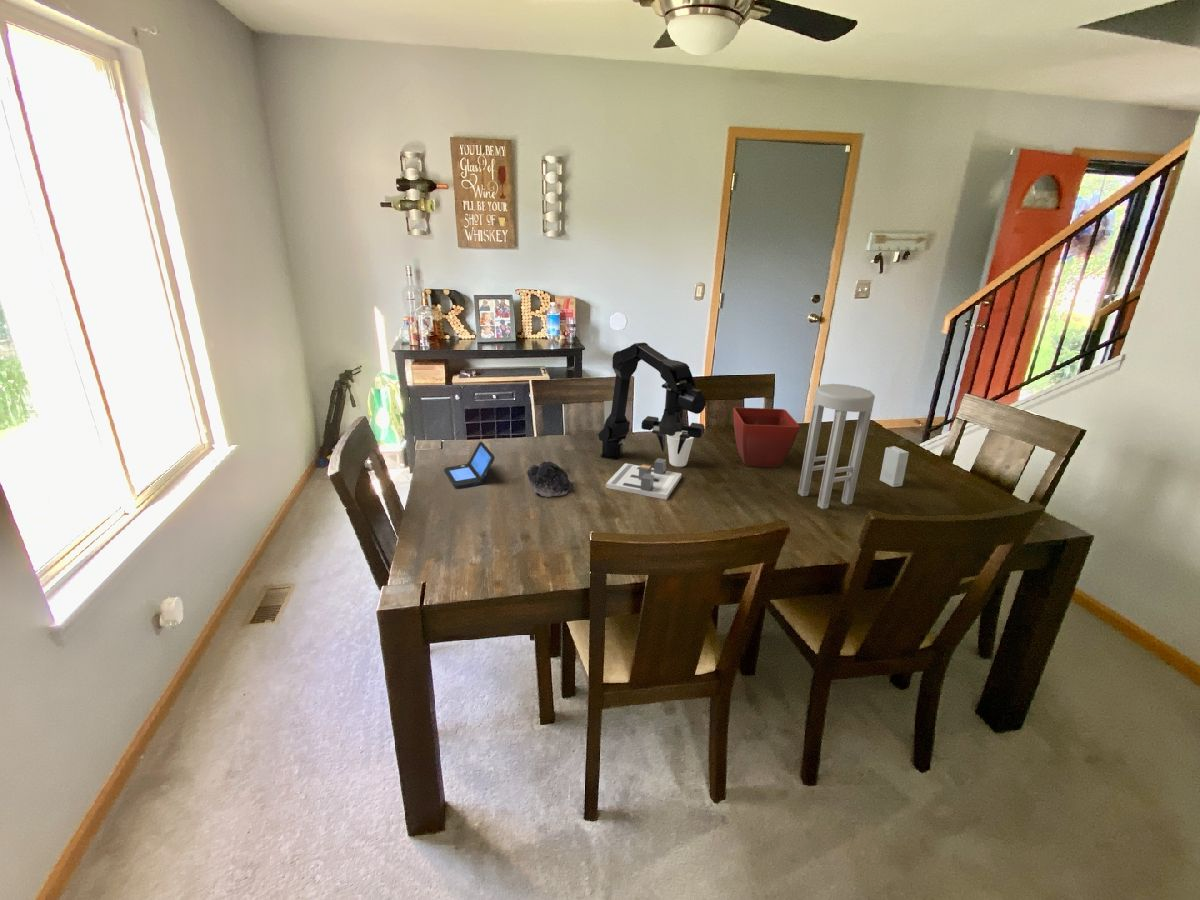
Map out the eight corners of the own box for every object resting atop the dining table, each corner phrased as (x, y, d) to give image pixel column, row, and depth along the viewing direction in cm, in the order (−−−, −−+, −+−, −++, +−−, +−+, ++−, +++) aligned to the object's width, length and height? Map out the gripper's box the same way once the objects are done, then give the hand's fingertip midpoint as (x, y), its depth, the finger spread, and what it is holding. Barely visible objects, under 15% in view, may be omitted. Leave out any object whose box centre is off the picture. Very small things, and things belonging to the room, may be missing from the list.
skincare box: (902, 486, 188) (911, 452, 184) (892, 487, 187) (900, 453, 182) (888, 478, 193) (895, 445, 189) (877, 480, 192) (885, 446, 188)
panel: (605, 487, 181) (606, 483, 180) (624, 467, 196) (625, 463, 196) (666, 499, 174) (666, 495, 174) (681, 477, 190) (681, 473, 189)
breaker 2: (653, 472, 189) (654, 461, 187) (656, 468, 192) (657, 458, 190) (662, 474, 188) (663, 463, 186) (665, 470, 191) (666, 459, 189)
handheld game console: (443, 471, 190) (441, 445, 186) (482, 465, 196) (481, 440, 192) (455, 490, 177) (453, 463, 174) (496, 482, 183) (495, 456, 179)
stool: (788, 491, 182) (805, 385, 169) (826, 485, 187) (846, 381, 174) (821, 513, 169) (843, 400, 156) (862, 505, 174) (886, 395, 161)
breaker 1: (640, 489, 177) (641, 477, 175) (644, 485, 180) (644, 473, 178) (649, 491, 176) (650, 479, 174) (653, 486, 179) (654, 475, 177)
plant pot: (793, 472, 197) (801, 426, 190) (738, 470, 197) (744, 424, 191) (778, 451, 214) (785, 408, 208) (727, 449, 215) (732, 407, 208)
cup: (691, 459, 205) (694, 430, 201) (692, 470, 196) (695, 440, 191) (663, 457, 206) (666, 429, 201) (664, 468, 196) (666, 438, 192)
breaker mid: (638, 479, 184) (639, 467, 182) (642, 475, 187) (642, 463, 185) (647, 481, 183) (648, 469, 181) (650, 476, 186) (651, 465, 184)
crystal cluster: (577, 485, 184) (576, 455, 181) (564, 499, 171) (562, 468, 169) (538, 482, 187) (537, 453, 185) (522, 497, 175) (520, 466, 172)
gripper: (637, 407, 169) (634, 456, 174) (698, 416, 162) (694, 466, 168) (648, 398, 178) (645, 444, 184) (707, 406, 172) (702, 453, 178)
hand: (670, 452), depth 178 cm, fingers open, 5 cm apart
